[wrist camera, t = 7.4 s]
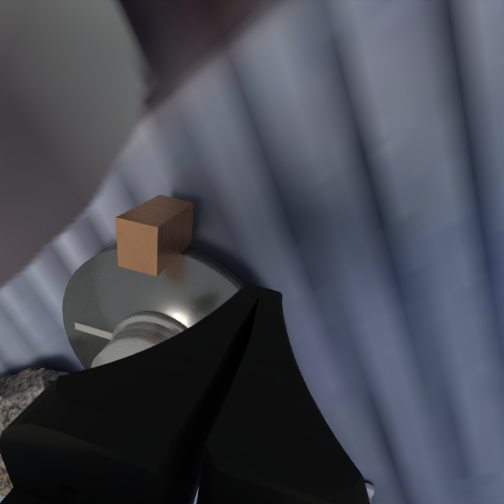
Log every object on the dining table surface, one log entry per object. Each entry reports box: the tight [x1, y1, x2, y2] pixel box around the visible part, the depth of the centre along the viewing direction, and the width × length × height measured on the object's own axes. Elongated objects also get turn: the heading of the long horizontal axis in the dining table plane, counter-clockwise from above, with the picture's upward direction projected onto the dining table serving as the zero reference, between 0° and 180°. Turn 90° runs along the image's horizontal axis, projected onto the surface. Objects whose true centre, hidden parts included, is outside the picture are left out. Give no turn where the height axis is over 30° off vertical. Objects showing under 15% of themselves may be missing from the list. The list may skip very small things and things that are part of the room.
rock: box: [0, 368, 69, 497], centre depth 28 cm, size 13×6×15 cm
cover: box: [91, 312, 187, 368], centre depth 19 cm, size 6×6×3 cm
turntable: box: [62, 195, 245, 369], centre depth 19 cm, size 15×18×4 cm
